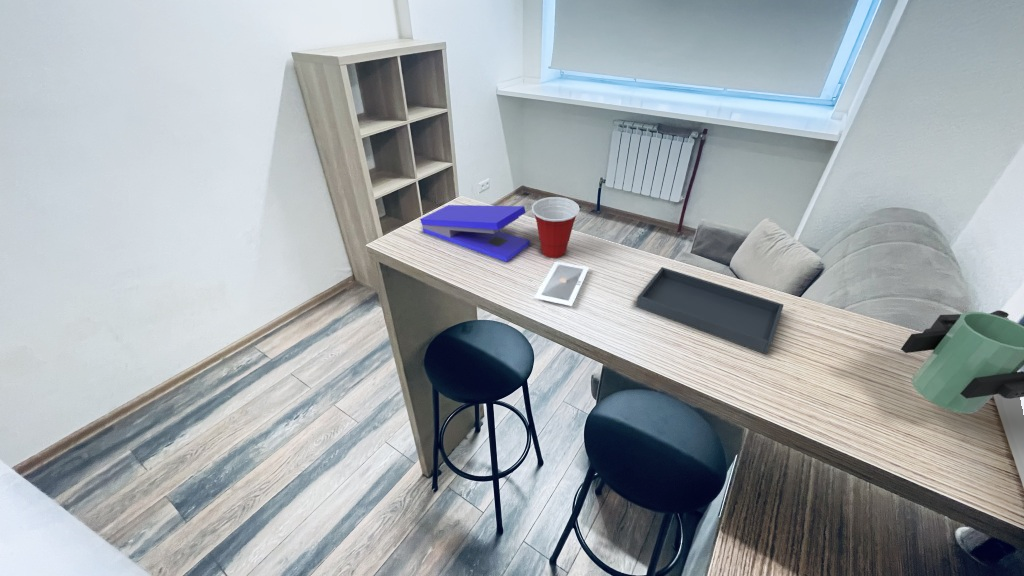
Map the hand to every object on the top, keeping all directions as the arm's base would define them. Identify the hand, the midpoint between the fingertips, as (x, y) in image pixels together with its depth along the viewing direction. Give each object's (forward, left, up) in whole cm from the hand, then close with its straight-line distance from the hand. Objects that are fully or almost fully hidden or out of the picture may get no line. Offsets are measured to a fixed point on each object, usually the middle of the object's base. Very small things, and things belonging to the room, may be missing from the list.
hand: (937, 364), depth 50 cm
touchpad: (+45, +31, -13) cm, 56 cm away
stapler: (+72, +45, -13) cm, 86 cm away
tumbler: (-1, -5, -6) cm, 8 cm away
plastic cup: (+59, +28, -13) cm, 67 cm away
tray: (+30, +7, -12) cm, 33 cm away
